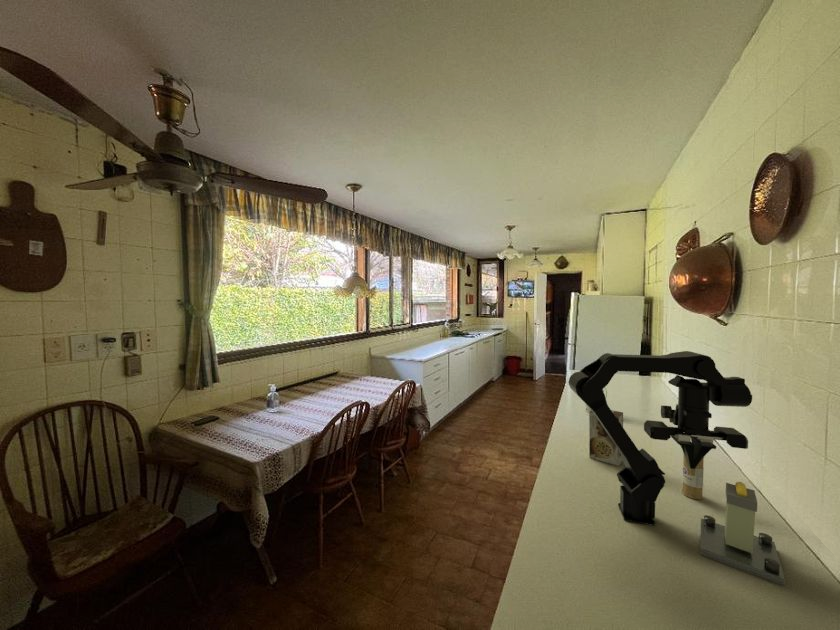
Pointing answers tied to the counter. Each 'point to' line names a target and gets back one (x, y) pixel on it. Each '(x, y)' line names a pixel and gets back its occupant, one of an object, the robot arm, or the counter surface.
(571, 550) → the counter surface
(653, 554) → the counter surface
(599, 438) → the coffee box
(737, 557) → the plate
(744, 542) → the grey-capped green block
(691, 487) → the sprinkles bottle
